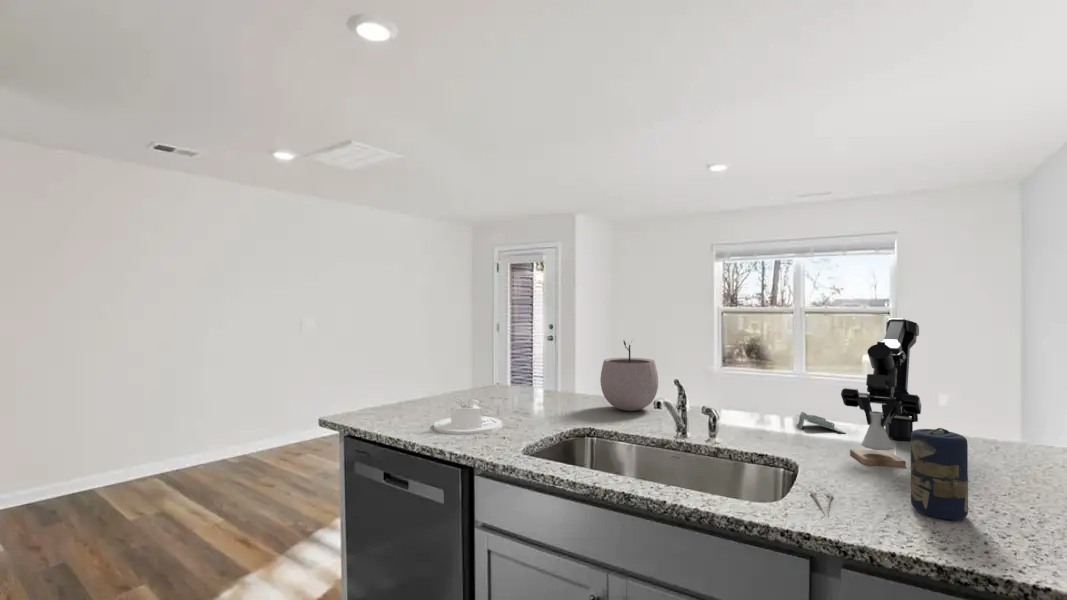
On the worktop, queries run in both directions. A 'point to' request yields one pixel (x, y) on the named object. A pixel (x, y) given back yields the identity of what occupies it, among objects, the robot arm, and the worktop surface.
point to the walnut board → (877, 458)
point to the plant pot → (629, 382)
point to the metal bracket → (816, 421)
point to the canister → (939, 473)
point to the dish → (467, 419)
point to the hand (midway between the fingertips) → (875, 424)
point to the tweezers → (819, 503)
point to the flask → (876, 434)
